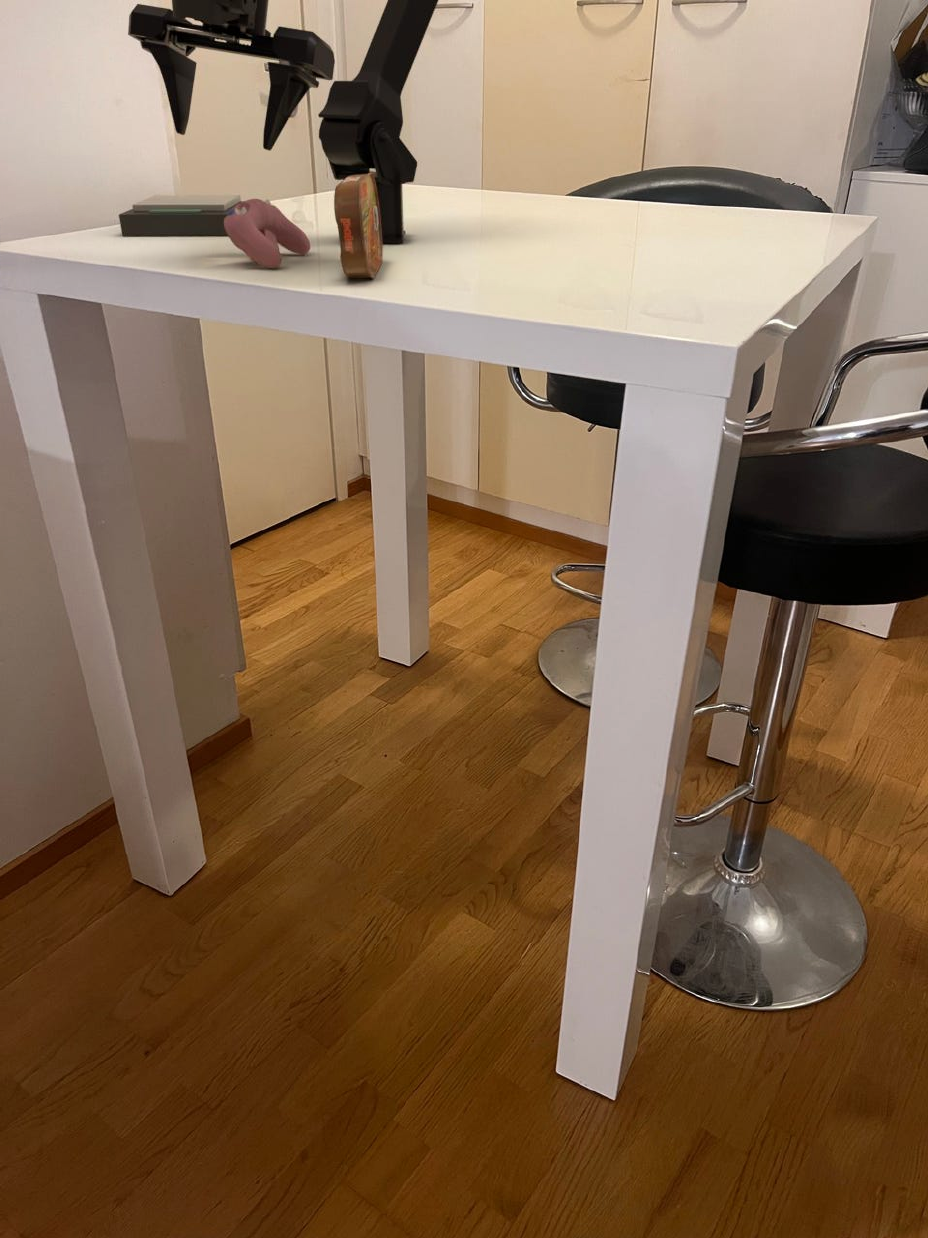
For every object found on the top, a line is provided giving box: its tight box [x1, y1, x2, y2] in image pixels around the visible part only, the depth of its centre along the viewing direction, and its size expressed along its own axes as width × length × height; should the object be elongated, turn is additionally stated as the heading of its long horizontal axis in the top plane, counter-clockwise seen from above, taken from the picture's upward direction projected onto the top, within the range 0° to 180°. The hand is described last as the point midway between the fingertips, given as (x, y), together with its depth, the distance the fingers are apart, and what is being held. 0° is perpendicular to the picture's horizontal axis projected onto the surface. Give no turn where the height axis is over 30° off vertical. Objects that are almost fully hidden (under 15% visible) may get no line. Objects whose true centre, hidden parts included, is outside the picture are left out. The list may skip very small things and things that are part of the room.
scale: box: [118, 194, 245, 237], centre depth 116 cm, size 13×13×3 cm
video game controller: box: [224, 198, 311, 269], centre depth 95 cm, size 10×5×7 cm, turn 168°
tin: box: [333, 173, 384, 279], centre depth 89 cm, size 15×3×8 cm, turn 179°
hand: (223, 141), depth 91 cm, fingers open, 9 cm apart
